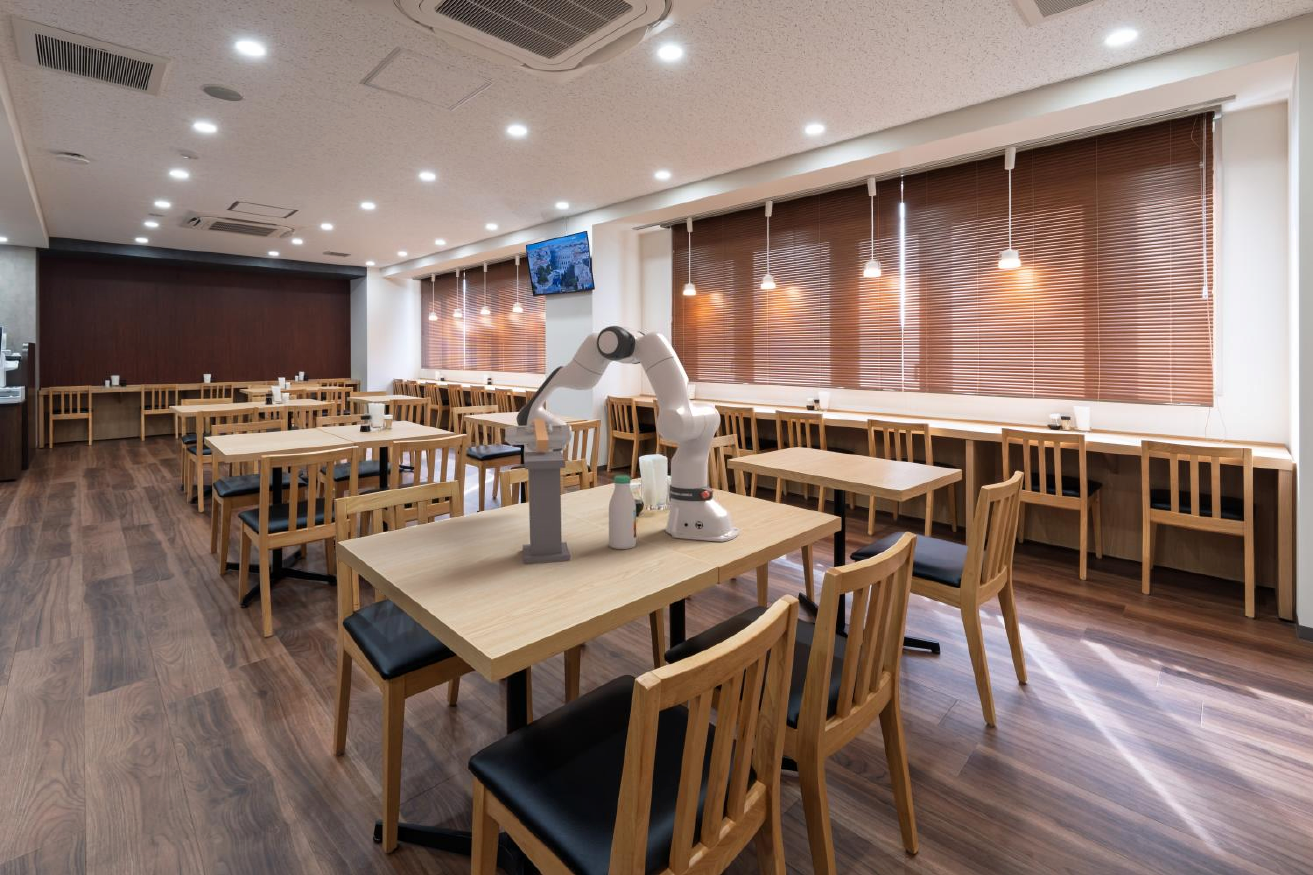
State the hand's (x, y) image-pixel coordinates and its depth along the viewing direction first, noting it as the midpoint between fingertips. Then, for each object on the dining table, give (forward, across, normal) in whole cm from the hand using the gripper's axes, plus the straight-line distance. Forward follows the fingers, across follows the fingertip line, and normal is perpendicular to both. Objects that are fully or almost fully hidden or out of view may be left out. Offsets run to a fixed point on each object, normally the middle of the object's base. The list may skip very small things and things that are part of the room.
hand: (539, 424), depth 191 cm
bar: (+7, 0, +8) cm, 10 cm away
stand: (+5, 0, +41) cm, 41 cm away
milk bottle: (+1, +22, +39) cm, 45 cm away
